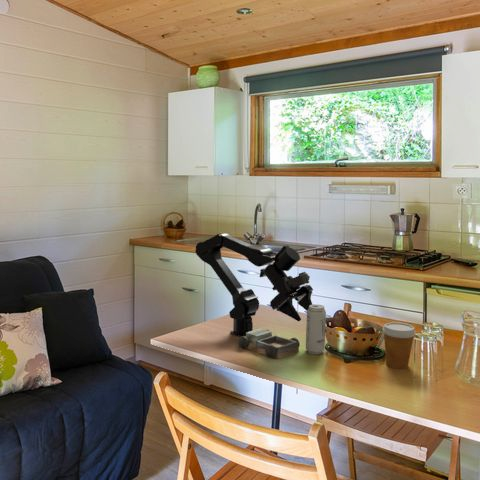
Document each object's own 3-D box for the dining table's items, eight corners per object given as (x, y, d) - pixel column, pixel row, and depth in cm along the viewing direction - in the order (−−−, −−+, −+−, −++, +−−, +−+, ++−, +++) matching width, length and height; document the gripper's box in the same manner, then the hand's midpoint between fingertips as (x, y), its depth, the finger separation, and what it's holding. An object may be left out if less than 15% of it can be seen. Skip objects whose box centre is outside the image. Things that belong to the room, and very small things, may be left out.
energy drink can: (321, 356, 168) (323, 309, 166) (303, 353, 170) (304, 307, 169) (326, 350, 173) (328, 305, 171) (308, 347, 176) (310, 303, 174)
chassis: (236, 346, 176) (237, 333, 175) (262, 338, 184) (262, 325, 184) (275, 359, 164) (275, 345, 163) (300, 350, 172) (301, 337, 172)
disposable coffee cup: (419, 370, 157) (421, 330, 156) (388, 371, 156) (391, 331, 154) (404, 358, 167) (406, 321, 165) (375, 360, 165) (377, 322, 164)
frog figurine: (388, 350, 175) (390, 329, 174) (369, 351, 173) (370, 330, 172) (380, 344, 180) (381, 324, 180) (361, 345, 179) (362, 325, 178)
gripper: (278, 268, 166) (308, 308, 161) (308, 261, 181) (337, 297, 176) (257, 289, 172) (286, 329, 167) (288, 280, 187) (315, 317, 181)
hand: (307, 317), depth 172 cm, fingers open, 9 cm apart
